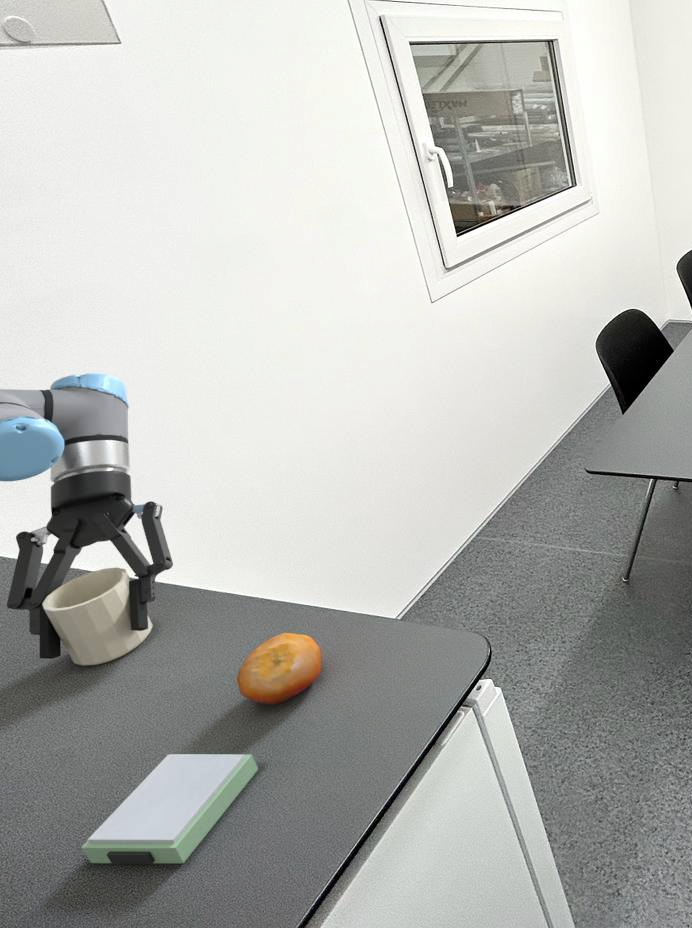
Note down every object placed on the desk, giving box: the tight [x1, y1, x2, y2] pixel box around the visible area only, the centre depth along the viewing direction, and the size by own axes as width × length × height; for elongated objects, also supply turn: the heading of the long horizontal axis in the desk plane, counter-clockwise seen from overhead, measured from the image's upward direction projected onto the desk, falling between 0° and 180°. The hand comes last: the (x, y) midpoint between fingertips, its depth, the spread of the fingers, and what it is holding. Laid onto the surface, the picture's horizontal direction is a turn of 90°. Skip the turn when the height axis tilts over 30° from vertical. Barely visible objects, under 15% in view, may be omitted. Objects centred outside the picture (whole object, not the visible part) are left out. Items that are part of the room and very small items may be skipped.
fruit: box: [236, 632, 322, 706], centre depth 79 cm, size 8×8×8 cm
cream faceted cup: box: [42, 567, 154, 666], centre depth 84 cm, size 8×8×10 cm
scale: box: [81, 753, 259, 865], centre depth 65 cm, size 9×10×3 cm
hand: (96, 642), depth 82 cm, fingers closed on cream faceted cup, 8 cm apart
